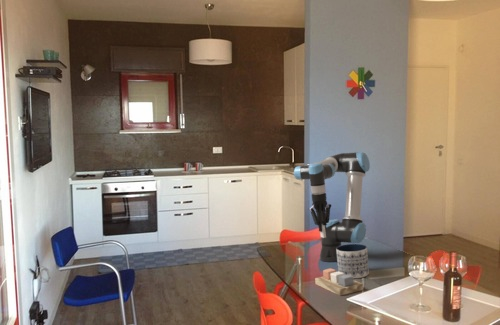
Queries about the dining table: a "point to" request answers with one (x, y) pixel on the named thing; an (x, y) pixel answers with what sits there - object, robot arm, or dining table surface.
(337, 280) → the key mid
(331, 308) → the dining table surface
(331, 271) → the key
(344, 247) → the planter
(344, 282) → the key
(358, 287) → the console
